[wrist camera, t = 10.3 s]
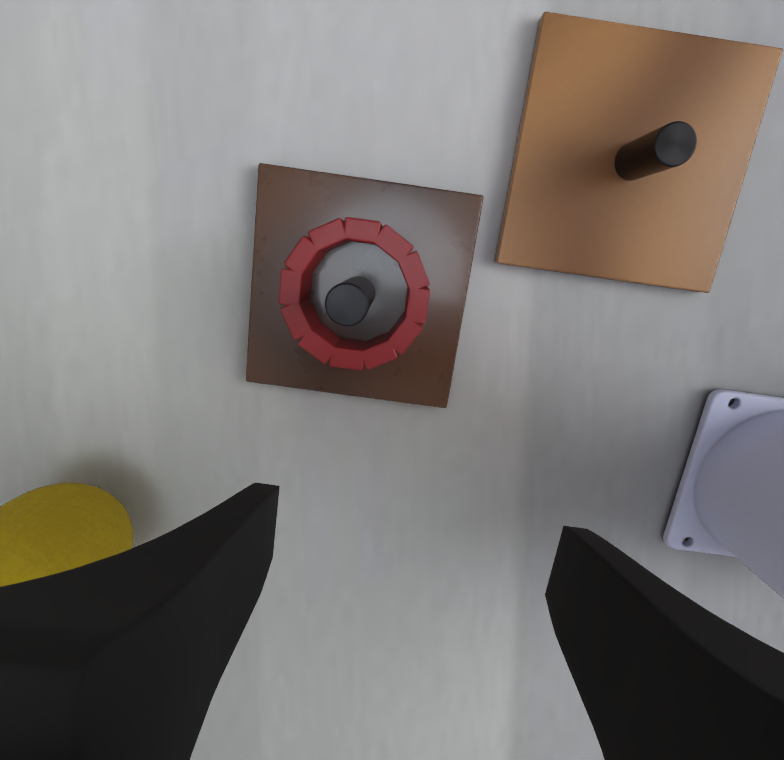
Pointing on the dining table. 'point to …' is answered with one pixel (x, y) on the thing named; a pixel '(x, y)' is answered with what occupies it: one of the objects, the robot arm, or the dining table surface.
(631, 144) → the short stand
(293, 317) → the ring
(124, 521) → the lemon
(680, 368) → the dining table surface
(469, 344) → the dining table surface
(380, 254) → the square base plate
